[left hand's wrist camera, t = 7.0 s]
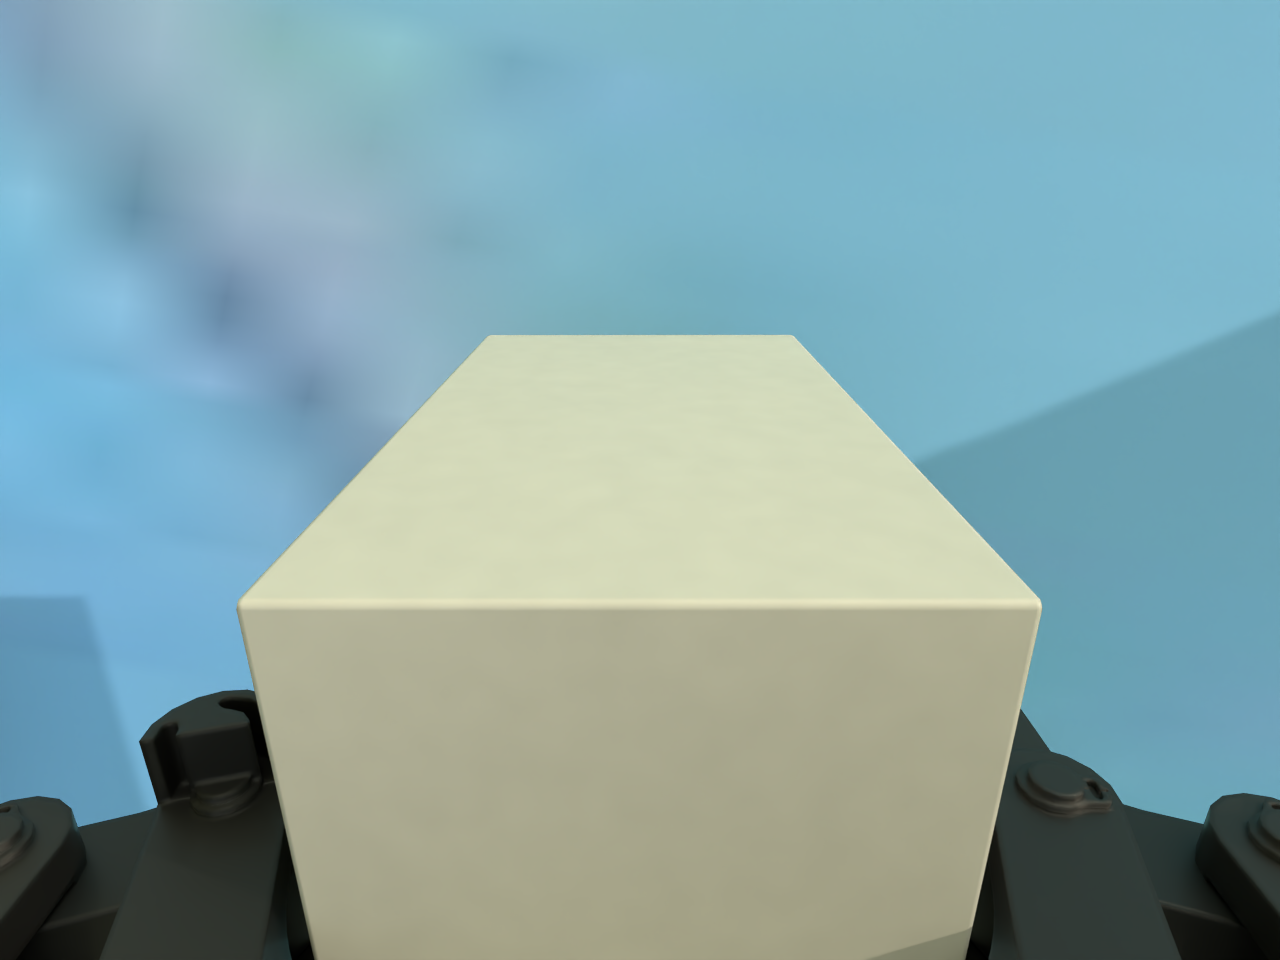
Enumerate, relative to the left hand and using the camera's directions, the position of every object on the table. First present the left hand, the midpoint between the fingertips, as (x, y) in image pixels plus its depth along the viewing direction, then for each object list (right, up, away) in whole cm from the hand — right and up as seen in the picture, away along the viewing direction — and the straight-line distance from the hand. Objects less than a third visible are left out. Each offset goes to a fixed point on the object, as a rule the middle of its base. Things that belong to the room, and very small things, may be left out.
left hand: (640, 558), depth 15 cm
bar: (0, -6, +3) cm, 7 cm away
